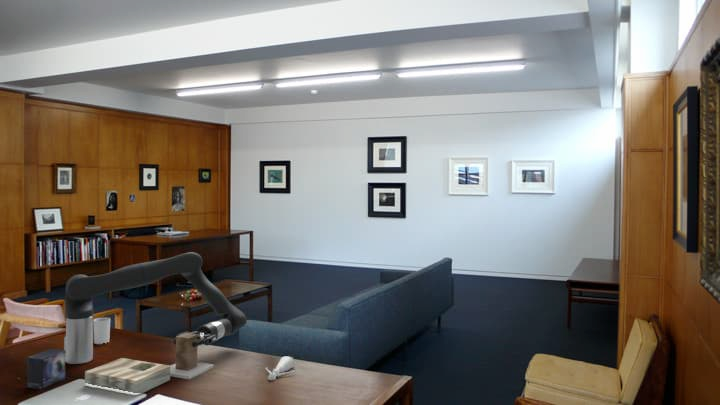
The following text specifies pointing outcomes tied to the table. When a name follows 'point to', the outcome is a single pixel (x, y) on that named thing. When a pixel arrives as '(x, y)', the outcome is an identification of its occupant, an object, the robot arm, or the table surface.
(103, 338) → the drinking glass
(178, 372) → the grey pad
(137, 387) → the slotted wooden base
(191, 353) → the brown wooden block
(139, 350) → the table surface
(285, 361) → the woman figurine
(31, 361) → the small box
